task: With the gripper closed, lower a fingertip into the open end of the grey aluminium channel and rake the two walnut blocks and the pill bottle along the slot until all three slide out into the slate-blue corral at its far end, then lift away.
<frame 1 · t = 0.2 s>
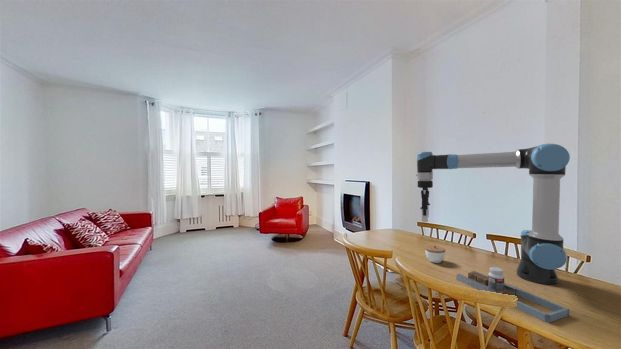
hand: (425, 219, 136), 27 cm above the table, fingers open, 13 cm apart
walnut chip 2: (484, 286, 116), on the table
slot rails: (485, 286, 115), on the table
lidded jar: (435, 261, 147), on the table
pill bottle: (496, 291, 110), on the table
corral tray: (531, 307, 98), on the table
walnut chip 1: (475, 281, 120), on the table
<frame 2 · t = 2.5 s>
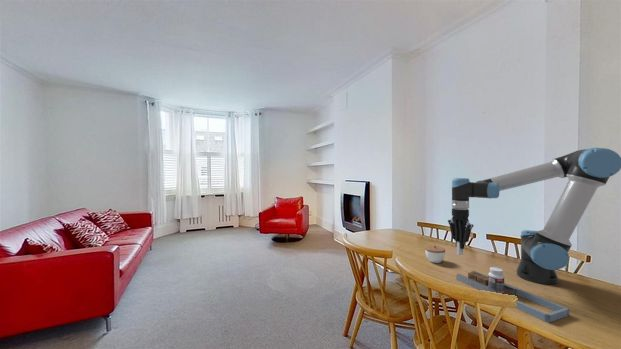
hand: (459, 254, 127), 11 cm above the table, fingers closed
nothing on the table moved.
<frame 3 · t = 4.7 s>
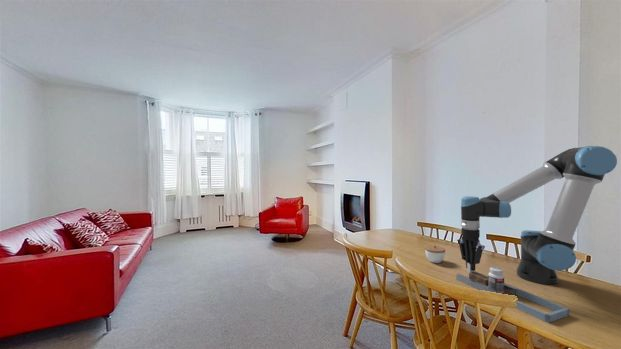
hand: (470, 276, 122), 2 cm above the table, fingers closed
walnut chip 2: (484, 286, 116), on the table, touching walnut chip 1
walnut chip 1: (475, 282, 119), on the table, touching gripper, walnut chip 2
everything else where it was.
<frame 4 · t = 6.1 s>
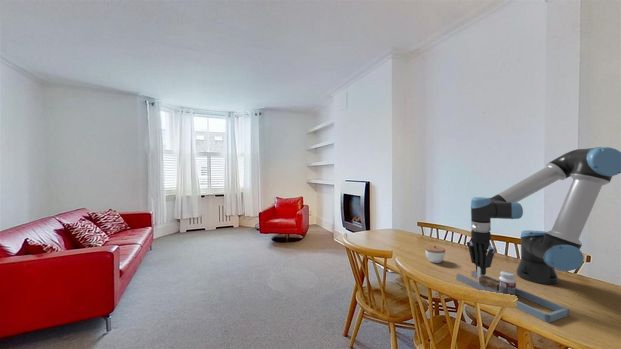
hand: (480, 280, 117), 2 cm above the table, fingers closed
walnut chip 2: (495, 290, 111), on the table, touching pill bottle, walnut chip 1
pill bottle: (507, 296, 106), on the table, touching walnut chip 2
walnut chip 1: (486, 286, 114), on the table, touching gripper, walnut chip 2
everything else where it was.
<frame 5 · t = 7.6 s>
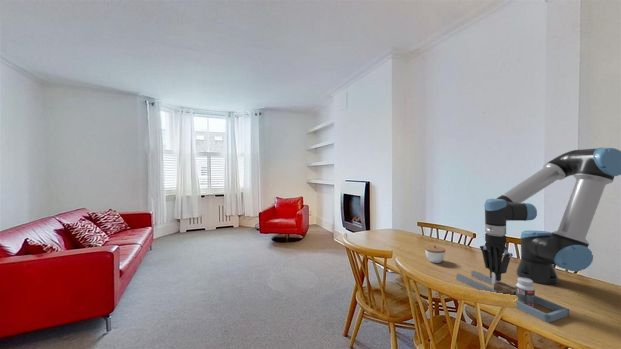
hand: (495, 286, 111), 2 cm above the table, fingers closed
walnut chip 2: (511, 298, 104), on the table, touching pill bottle, walnut chip 1
pill bottle: (525, 304, 100), on the table, touching walnut chip 2
walnut chip 1: (501, 293, 108), on the table, touching gripper, walnut chip 2
everything else where it was.
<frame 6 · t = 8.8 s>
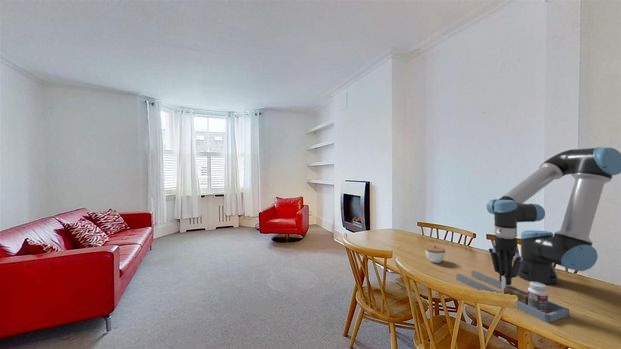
hand: (505, 290, 107), 2 cm above the table, fingers closed
walnut chip 2: (523, 303, 100), on the table, touching pill bottle, walnut chip 1
pill bottle: (537, 310, 96), on the table, touching walnut chip 2
walnut chip 1: (512, 298, 104), on the table, touching gripper, walnut chip 2
everything else where it was.
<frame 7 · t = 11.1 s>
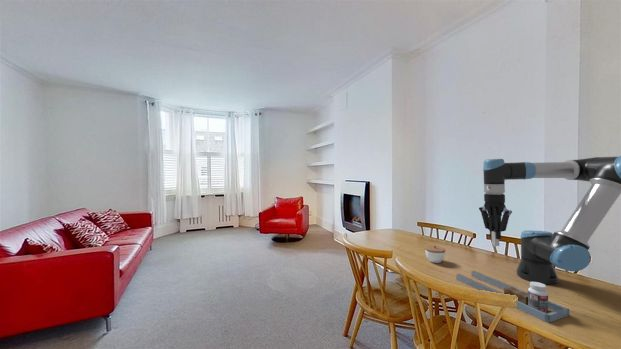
hand: (495, 245, 112), 20 cm above the table, fingers closed
walnut chip 2: (523, 303, 100), on the table
pill bottle: (537, 310, 96), on the table
walnut chip 1: (512, 298, 104), on the table
everything else where it was.
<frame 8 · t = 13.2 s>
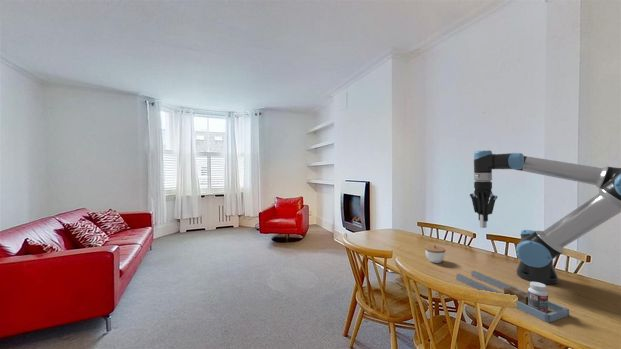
hand: (483, 227, 127), 24 cm above the table, fingers closed
nothing on the table moved.
at the end: pill bottle 2.0 cm from the corral tray (horizontally); walnut chip 2 2.8 cm from the corral tray (horizontally); walnut chip 1 6.8 cm from the corral tray (horizontally) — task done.
